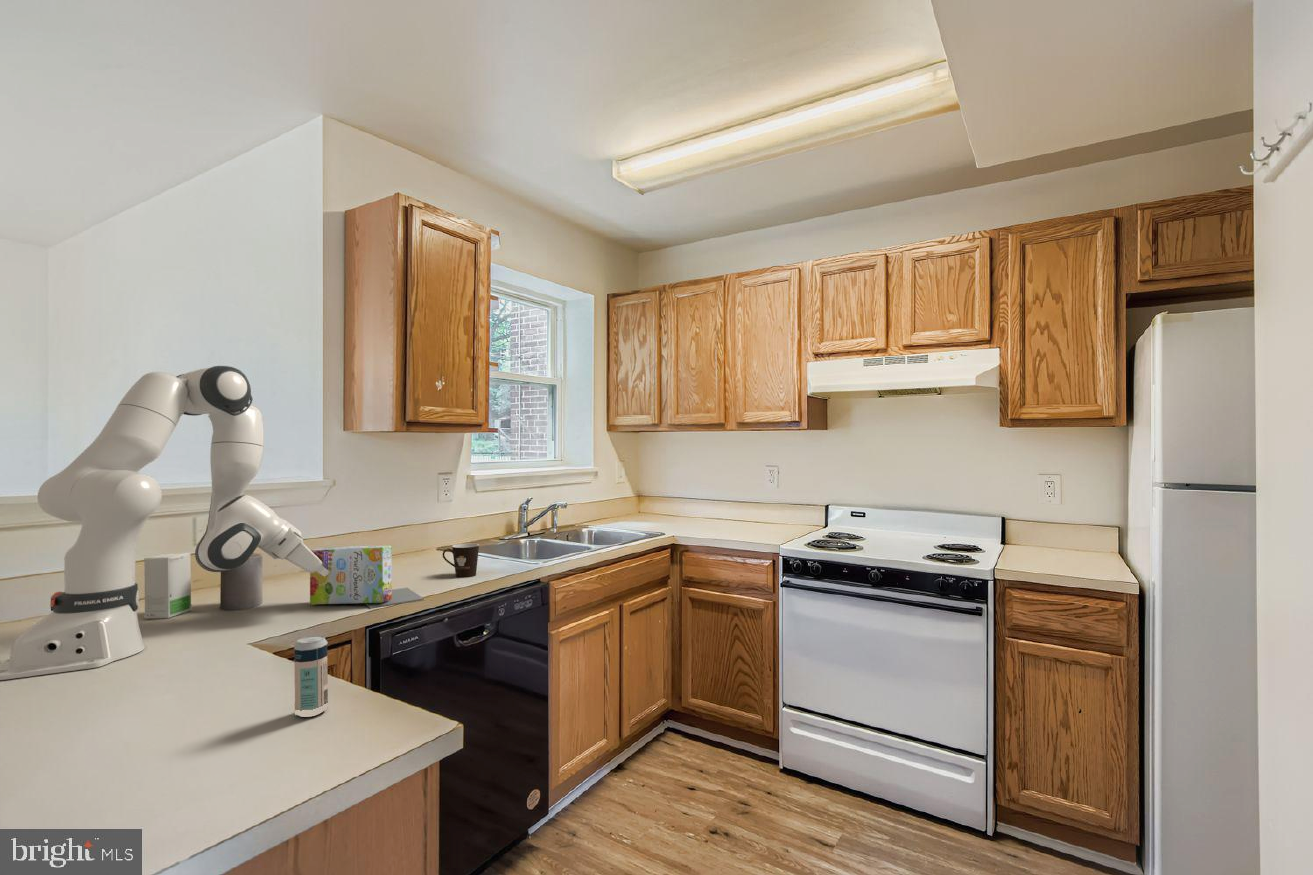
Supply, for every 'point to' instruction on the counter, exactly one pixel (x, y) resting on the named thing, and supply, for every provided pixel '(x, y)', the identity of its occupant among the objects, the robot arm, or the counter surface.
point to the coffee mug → (464, 559)
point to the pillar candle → (242, 585)
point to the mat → (398, 598)
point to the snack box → (353, 575)
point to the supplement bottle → (311, 673)
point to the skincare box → (167, 585)
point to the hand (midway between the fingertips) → (326, 573)
